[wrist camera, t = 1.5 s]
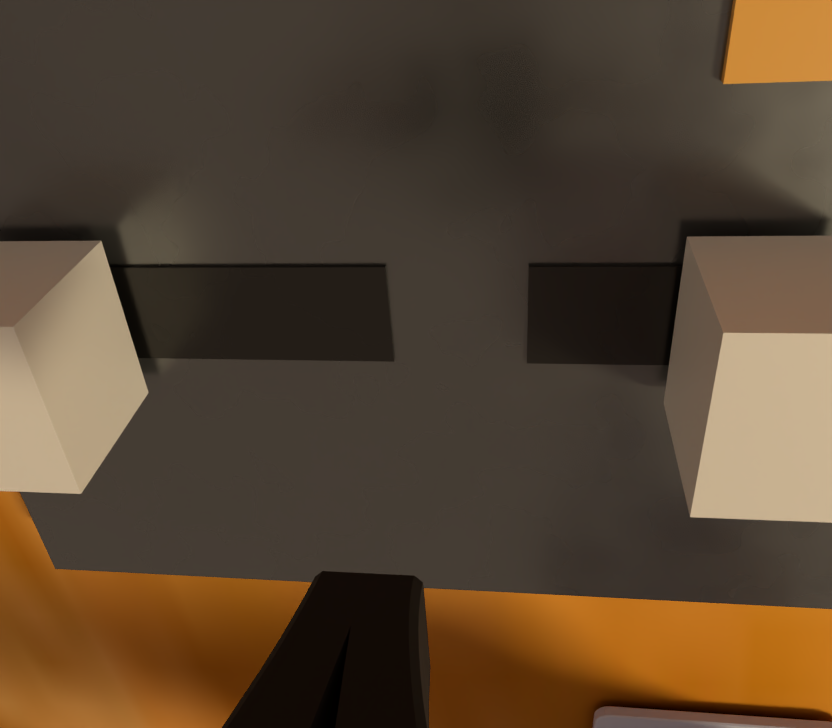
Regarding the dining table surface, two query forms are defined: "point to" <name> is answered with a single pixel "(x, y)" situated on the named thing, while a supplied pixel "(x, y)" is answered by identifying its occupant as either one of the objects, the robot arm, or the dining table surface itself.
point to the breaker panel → (414, 276)
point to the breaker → (61, 365)
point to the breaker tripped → (754, 378)
